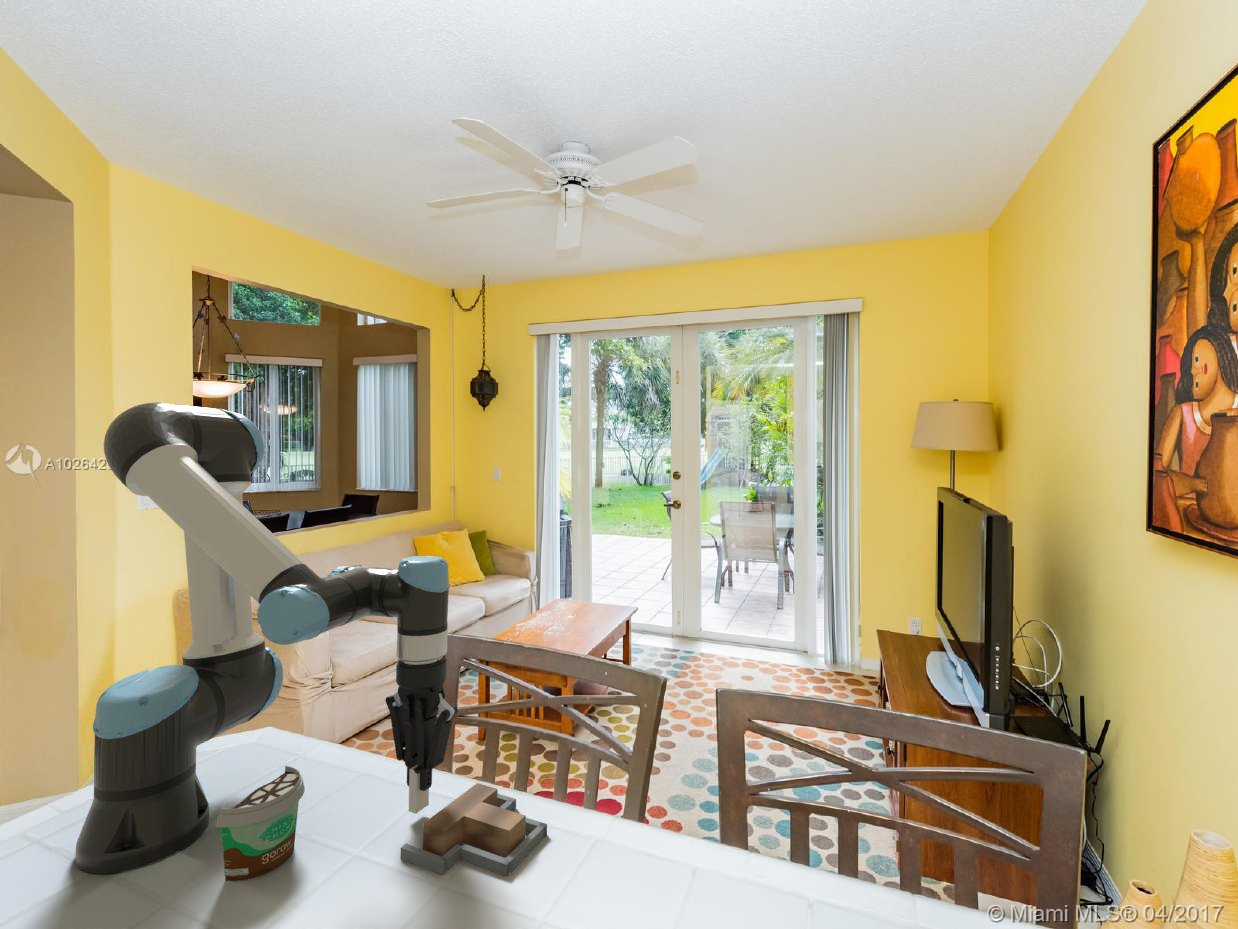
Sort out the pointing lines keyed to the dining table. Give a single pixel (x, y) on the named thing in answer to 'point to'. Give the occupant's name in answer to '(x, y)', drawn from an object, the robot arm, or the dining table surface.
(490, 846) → the t block
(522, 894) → the dining table surface
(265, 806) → the food container
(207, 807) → the robot arm
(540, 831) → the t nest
